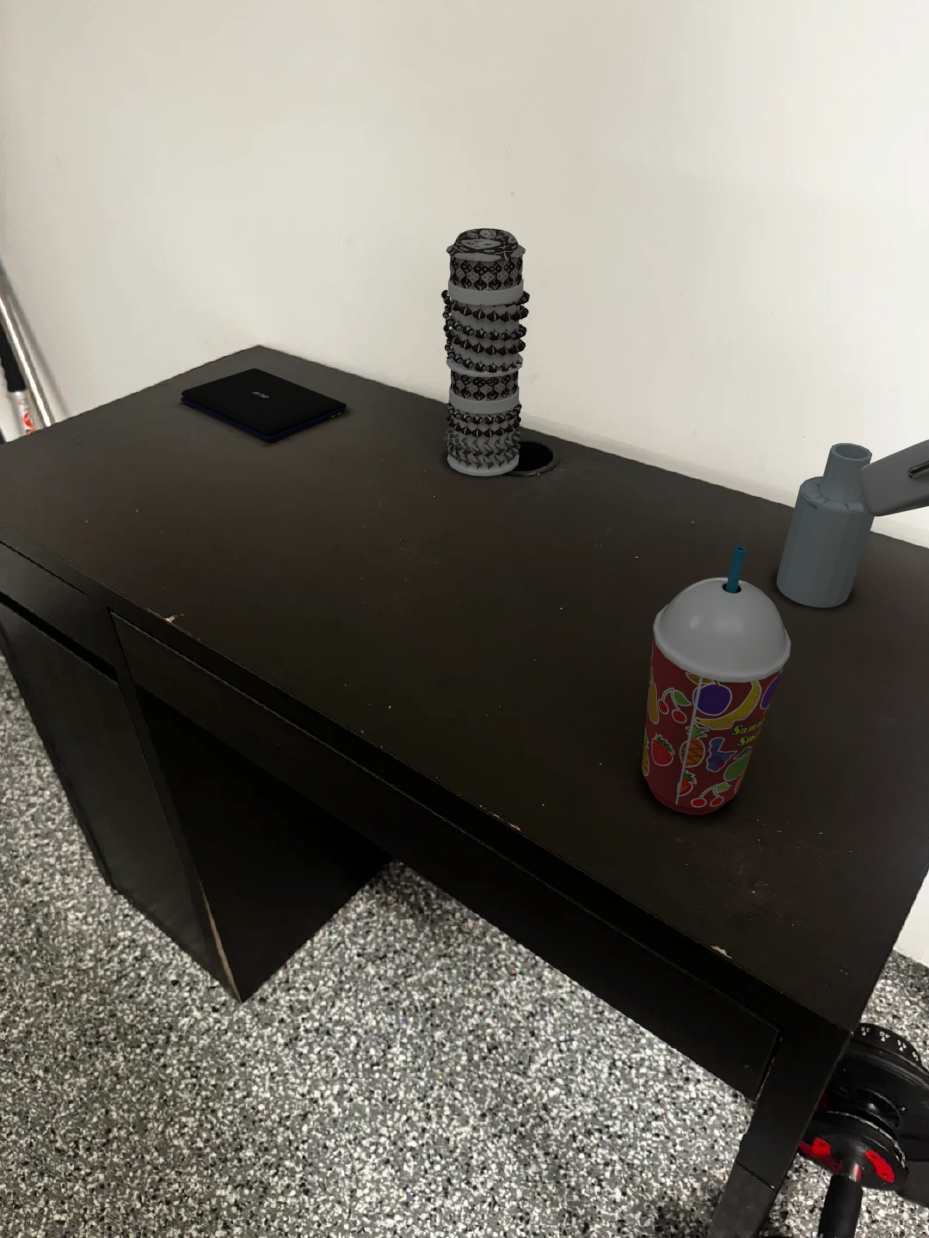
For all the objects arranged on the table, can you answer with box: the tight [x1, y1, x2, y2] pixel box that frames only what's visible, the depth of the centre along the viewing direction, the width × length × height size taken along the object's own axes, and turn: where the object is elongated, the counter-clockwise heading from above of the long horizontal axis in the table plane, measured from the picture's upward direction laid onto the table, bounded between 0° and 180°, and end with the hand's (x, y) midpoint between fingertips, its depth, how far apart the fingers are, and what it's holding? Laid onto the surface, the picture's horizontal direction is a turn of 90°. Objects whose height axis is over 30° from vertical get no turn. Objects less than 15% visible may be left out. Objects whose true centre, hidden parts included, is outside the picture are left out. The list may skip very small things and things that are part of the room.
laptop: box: [180, 367, 347, 443], centre depth 116 cm, size 16×20×2 cm
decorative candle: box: [440, 227, 531, 477], centre depth 97 cm, size 9×9×25 cm
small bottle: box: [775, 442, 876, 609], centre depth 80 cm, size 6×6×14 cm
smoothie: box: [641, 545, 792, 816], centre depth 58 cm, size 8×8×20 cm
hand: (918, 492), depth 69 cm, fingers open, 8 cm apart
